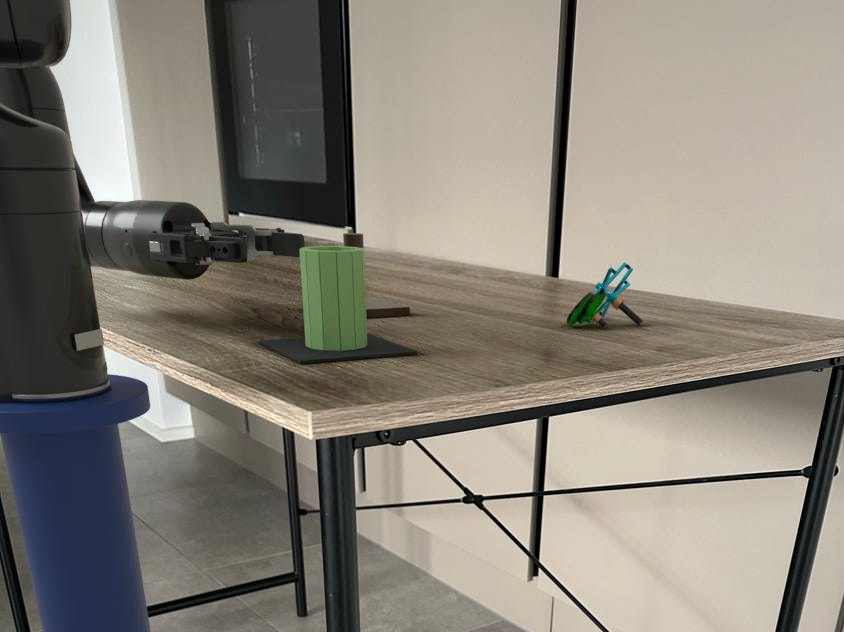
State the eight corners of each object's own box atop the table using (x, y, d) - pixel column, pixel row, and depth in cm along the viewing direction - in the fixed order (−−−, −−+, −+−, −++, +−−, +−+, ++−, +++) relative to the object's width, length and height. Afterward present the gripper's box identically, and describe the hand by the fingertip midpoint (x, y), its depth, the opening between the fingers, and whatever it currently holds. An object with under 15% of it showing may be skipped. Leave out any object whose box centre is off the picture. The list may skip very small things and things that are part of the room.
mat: (300, 364, 87) (300, 360, 86) (259, 343, 96) (259, 340, 96) (417, 354, 92) (417, 351, 92) (367, 335, 101) (367, 333, 101)
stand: (333, 320, 111) (329, 237, 107) (304, 309, 119) (299, 231, 114) (410, 315, 115) (408, 235, 111) (376, 305, 123) (374, 230, 119)
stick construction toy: (600, 296, 117) (629, 246, 111) (642, 332, 117) (673, 285, 110) (547, 334, 110) (574, 284, 104) (591, 374, 110) (621, 326, 103)
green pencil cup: (319, 352, 90) (313, 251, 86) (297, 343, 95) (291, 246, 91) (376, 348, 93) (373, 250, 89) (352, 339, 97) (348, 245, 93)
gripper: (97, 201, 93) (219, 208, 86) (202, 199, 104) (318, 204, 97) (109, 282, 96) (227, 295, 89) (210, 271, 107) (322, 282, 100)
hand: (274, 248), depth 93 cm, fingers open, 8 cm apart
